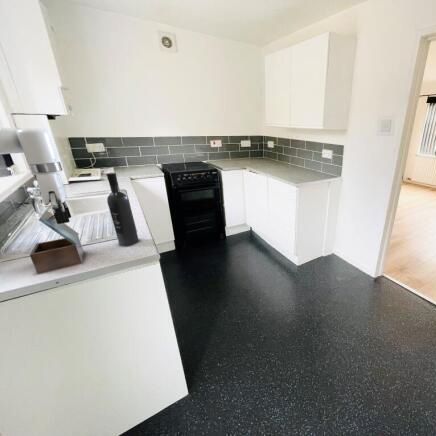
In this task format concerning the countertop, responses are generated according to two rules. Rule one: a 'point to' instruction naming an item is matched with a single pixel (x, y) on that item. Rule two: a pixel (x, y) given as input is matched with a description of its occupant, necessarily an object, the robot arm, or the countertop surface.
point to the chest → (56, 255)
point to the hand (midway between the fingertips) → (64, 220)
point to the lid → (59, 227)
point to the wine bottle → (121, 214)
